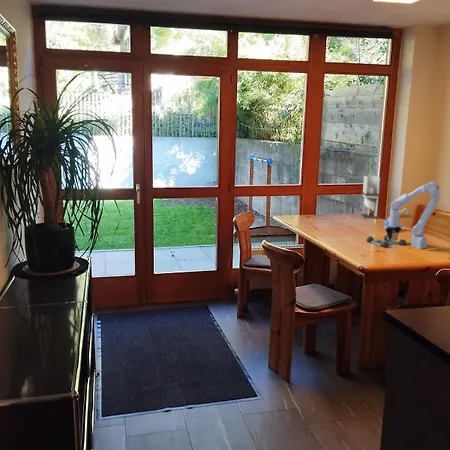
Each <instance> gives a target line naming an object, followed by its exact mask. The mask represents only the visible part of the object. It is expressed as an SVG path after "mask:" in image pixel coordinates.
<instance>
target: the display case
mask: <svg viewBox="0 0 450 450" xmlns="http://www.w3.org/2000/svg"><path fill="white" fill-rule="evenodd" d="M380 186H381V177H379V176H377V175H364V176H363V186H362V195H361V196H362V197H363V201H362V213H361V214H360V217H361V218H362V219H364V220H367V219H368V220H377V218H378V207H379V196H380Z"/></svg>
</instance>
